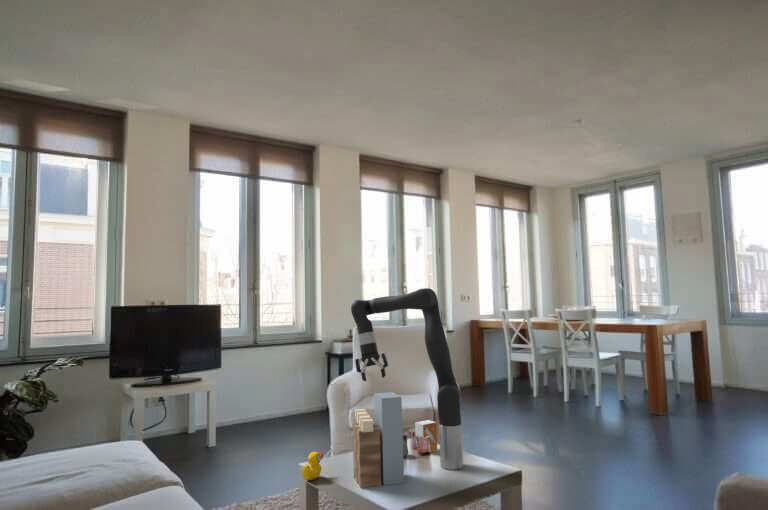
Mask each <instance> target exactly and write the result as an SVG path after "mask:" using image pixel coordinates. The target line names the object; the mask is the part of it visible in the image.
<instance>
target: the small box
mask: <svg viewBox="0 0 768 510" xmlns="http://www.w3.org/2000/svg"><path fill="white" fill-rule="evenodd" d="M437 424H438V423H437V421H433V420H430V419H427V420H421V421H416V422H415V424H414V427H415V429H414V431H415V434H417V435H419V436H422V437H423V438H424V437H426V436H429V435H430V436H429V437H430V438H429V439H430V443H429V444H430V451H431V452H430V453H435V452H437V451H438V433H437V431H438V430H437Z"/></svg>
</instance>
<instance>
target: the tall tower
mask: <svg viewBox="0 0 768 510" xmlns="http://www.w3.org/2000/svg"><path fill="white" fill-rule="evenodd" d="M373 407H374V408H373V409H374V411H373V412H374V419H373V420H374V425H375V426H376V427H378V428H379V429H380V455H381V484H382V485H383V486H388V485H394V484H403V483H405V473H404V472H405V471H404V456H403V439H404V438H403V437H404V436H403V403H402V396H401V395H398V394H397V393H395V392H393V391H389V392H375V393H374V392H373Z"/></svg>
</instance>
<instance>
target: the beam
mask: <svg viewBox="0 0 768 510" xmlns="http://www.w3.org/2000/svg"><path fill="white" fill-rule="evenodd" d="M354 417H355V422H356V424H358V425H359V427H360V428H361V430H362V432H373V424H374V419H373V418H372V417H371V415H370V414H369V413H368V412H367V410H366V409H365V408H360V409H354Z"/></svg>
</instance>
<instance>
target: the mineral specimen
mask: <svg viewBox="0 0 768 510" xmlns="http://www.w3.org/2000/svg"><path fill="white" fill-rule="evenodd" d="M408 455H409V449H408V444H407V442H406V441H405V440H404V438H403V457H405V456H408Z"/></svg>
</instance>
